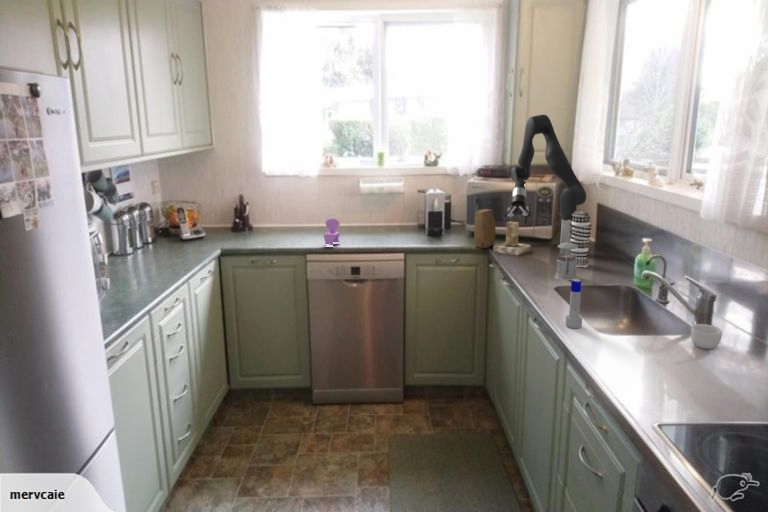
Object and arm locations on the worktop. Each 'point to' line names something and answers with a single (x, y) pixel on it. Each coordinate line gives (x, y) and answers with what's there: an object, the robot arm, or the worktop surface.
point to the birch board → (511, 249)
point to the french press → (567, 261)
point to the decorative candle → (580, 237)
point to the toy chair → (332, 232)
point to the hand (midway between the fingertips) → (517, 223)
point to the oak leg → (512, 234)
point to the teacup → (706, 336)
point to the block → (484, 228)
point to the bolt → (574, 305)
